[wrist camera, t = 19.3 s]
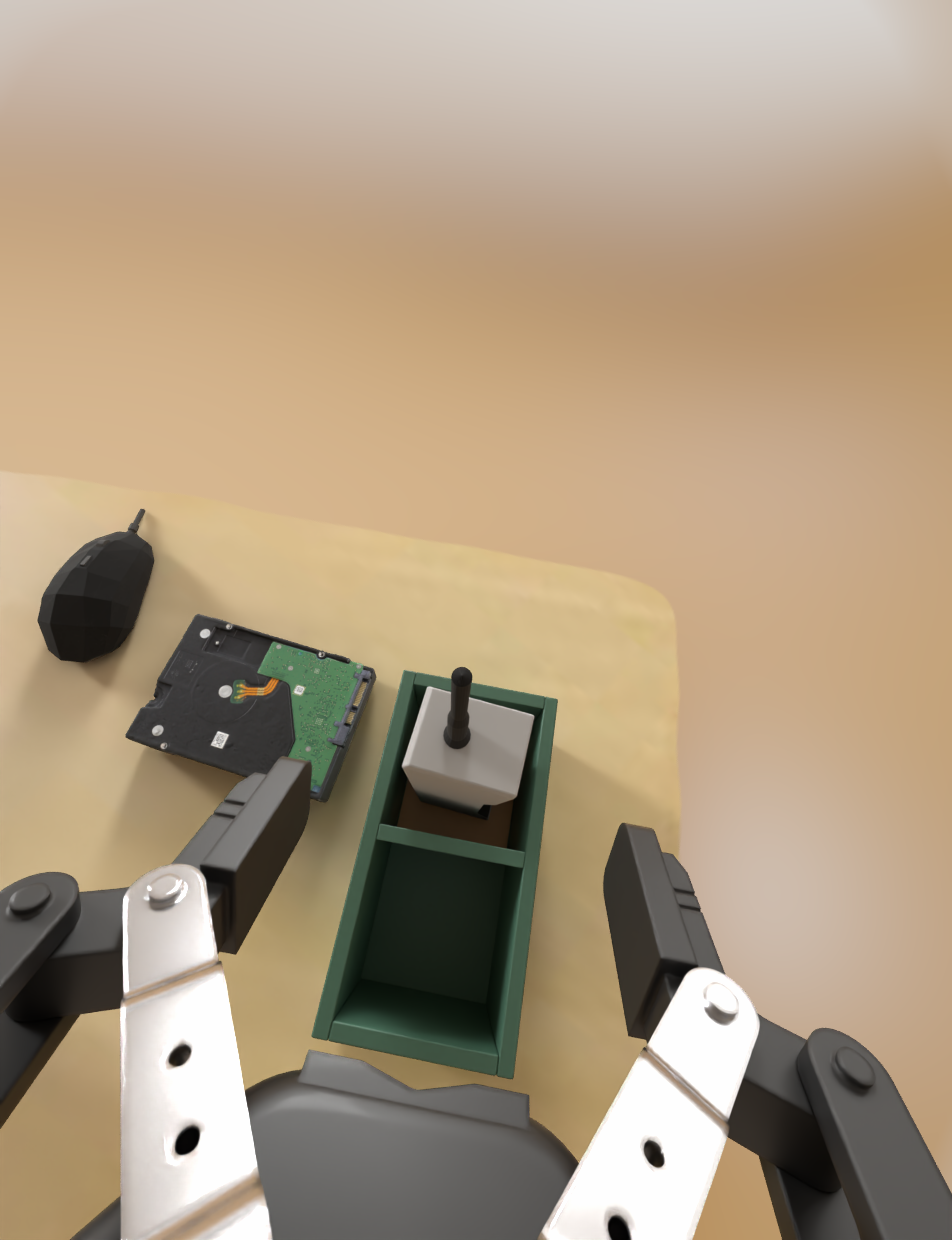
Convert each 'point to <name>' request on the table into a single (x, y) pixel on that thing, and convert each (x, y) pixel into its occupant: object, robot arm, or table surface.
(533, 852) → the caddy
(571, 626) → the table surface
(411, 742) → the vintage mobile phone
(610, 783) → the table surface
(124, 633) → the gaming mouse
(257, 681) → the disk drive
